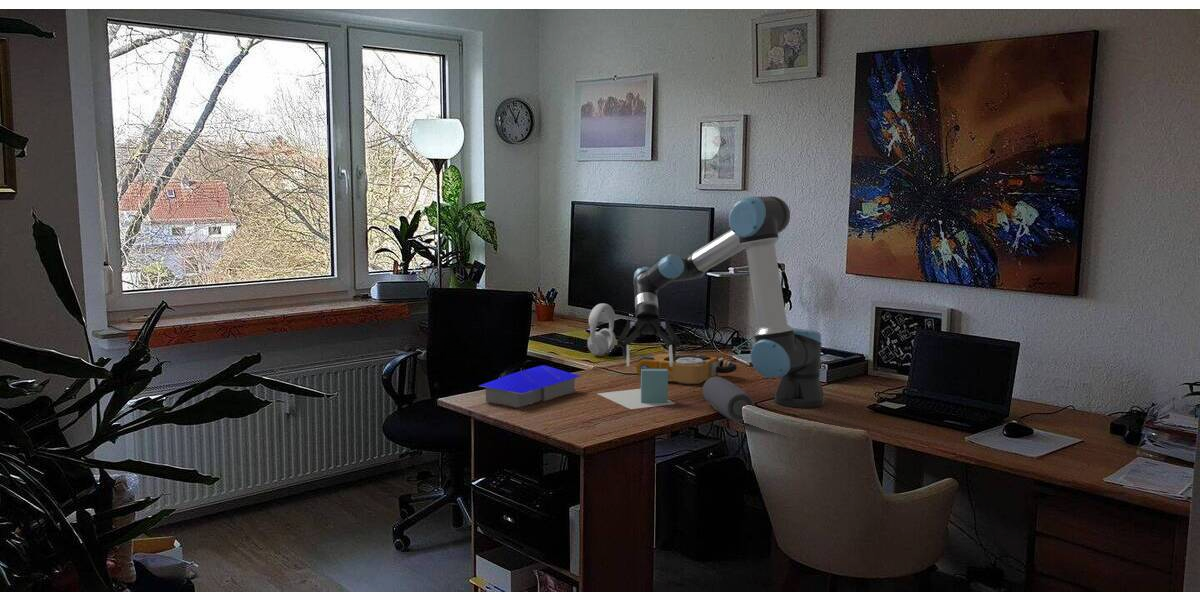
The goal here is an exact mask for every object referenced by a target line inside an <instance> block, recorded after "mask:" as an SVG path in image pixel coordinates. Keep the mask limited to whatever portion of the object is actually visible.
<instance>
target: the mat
mask: <svg viewBox="0 0 1200 600" xmlns="http://www.w3.org/2000/svg"><path fill="white" fill-rule="evenodd" d="M597 395H598V396H601V397H603V398H605V399H607V400H610V401H612V402H614V403H616V404H618V405H621V406H622V407H624V408H627V409H629V410H637V409H645V408H651V407H652V408H653V407H659V406H660V407H661V406H669V405H670V406H671V405H675V404H677V403H676V402H673V401H671V400H669V399H667V403H641V388H635V389H626V390H617V391H608V392H600V393H597Z"/></svg>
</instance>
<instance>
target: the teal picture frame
mask: <svg viewBox="0 0 1200 600" xmlns="http://www.w3.org/2000/svg"><path fill="white" fill-rule="evenodd" d="M668 386H669V381H668V370H667V369H641V377H640V389H641V403H667V400H669V399H668V396H669V395H668V393H669V392H668V391H669V390H668V388H669V387H668Z"/></svg>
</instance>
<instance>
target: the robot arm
mask: <svg viewBox="0 0 1200 600" xmlns="http://www.w3.org/2000/svg"><path fill="white" fill-rule="evenodd" d="M790 221H791V211H790V207H789V206H788V204H787V203H786V202H785V200H783V199H781V198H780V197H777V196H773V195H771V196H770V195H769V196H749V197H744V198H741V199H739V200H738V201H736V202H735V203H734V205H733V206H732V207H731V209H730V212H729V214H728V224H729V228H730V229H729V230H727V231H726V232H724V233H723V234H721V235H719V236H718V237H716V238H715V239H713V240H712V241H710V242H708V243H707V244H705V245H703V246H702V247H700V248H698V249H697V250H695V251H693V252H692V253H690V254H689V255H687V256H685V257H680V256H679V255H676V254H673V253H670V254H667V255H666V256H664V257H662V258H660V260H659V261H658V262H656V263H655V264H654V265H653V266H651V267H649V266H643V267H639V268H637V269H636V270H635V272H634V274H633V290H634V291H633V292H634V308H635V309H634V310H635V311H634V312H635V321H631V319H629V318H628V319H627V320H626V325H625V327H624V328H623V330H622V331H621V333H620V335H619V337H618V339H616V347H617V348H621V349H622V356H623V357H626V368H629V367H630V362H631V361H630V358H631V357H630V345H631V344H632V343H633V342H634V340H636V339H637V338H638V337H639V336H640V335H643V336H647V335H649V336H653V335H655V336H656V337H658V338H659V339H660V340H661V341H662V342H664V343H665V345H667V346H668V354H669V360H670V367H672V366H673V357H675V355H676V354H677V352H676V351H677V350H676V349H677V348H678V349H679V348H680V347H681V342H682V341H681V340H680V338H679V337H678V335H677V334H676V332H675V330H674V329H673V328H672V326H671V325H670V324H671V323H670V320H669V319H665V320H664V321H660V315H659V299H658V298H659V297H658V292H659V291H660V290H661V289H663V288H664V287H666V286H667V285H668V284H670V283H673V282H681V281H688V280H689V281H690V280H691V281H693V280H697V279H700V278H702V277H704V275H705V273H706V272H707V271H709V270H710V269H712V268H713V267H716V266H718V265H719V264H721V263H723V262H724V261H726V260H728V259H729V258H731V257H734V255H737V254H738V253H739V252H741V251H743V250H745V254H746V258H747V265H748V270H749V271H748V272H749V276H750V277H749V278H750V282H751V290H752V296H753V301H754V302H753V303H754V308H755V314H756V320H757V322H756V323H757V327H758V328H757V330H756V331H755V333H754V341H755V343H754V344H753V346H752V348H751V350H750V361H751V364H752V366H753V367H754V370H755V371H756V372H757V373H759V374H760V375H761V376H762V377H765V378H771V379H772V378H780V380H779V383H778V386H777V389H776V391H775V394H774V402H775V403H777V404H779V405H781V406H786V407H791V408H798V409H799V408H802V409H803V408H804V409H806V408H807V409H809V408H810V409H811V408H819V407H822V406H824V405H825V394H824V391H823V386H822V382H821V378H820V376H821V374H820V373H821V370H820V369H821V355H822V354H821V353H822V335H821V333H820V332H819V331H817V330H814V329H813V330H811V329H805V328H794V327H792V326H791V325H789V324H788V321H787V316H786V309H785V302H784V297H783V288H782V283H781V277H780V272H779V264H778V259H777V252H776V251H777V250H776V243H777V241H779V234H780V233H782V232H783V231H784V230H786V228H787V227H788V225H789V223H790ZM633 327H635V329H634V330H633V332H632V333H630V335H629V336H628V333H629V331H630V330H631V329H632V328H633ZM661 328H663V329H664V330H665V331H666V332H664V331H663V330H662V329H661ZM666 333H667V334H666ZM627 336H628V337H627Z"/></svg>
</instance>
